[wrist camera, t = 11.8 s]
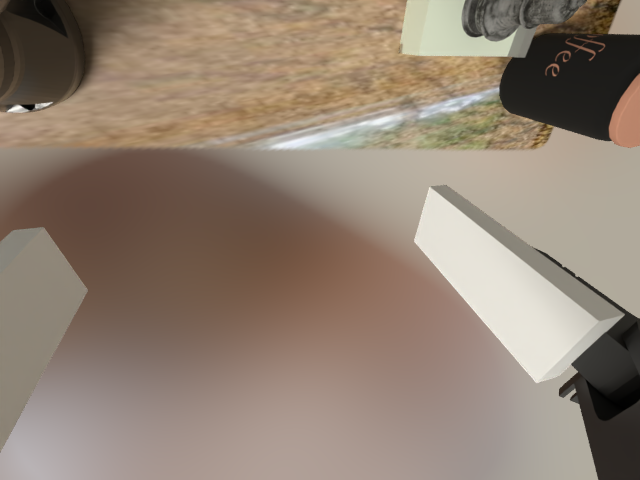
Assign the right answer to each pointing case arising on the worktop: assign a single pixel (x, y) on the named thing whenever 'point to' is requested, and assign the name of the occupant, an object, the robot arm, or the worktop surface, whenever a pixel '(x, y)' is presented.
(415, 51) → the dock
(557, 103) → the coffee jar
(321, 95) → the worktop surface
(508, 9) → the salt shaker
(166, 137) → the worktop surface
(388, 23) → the worktop surface
